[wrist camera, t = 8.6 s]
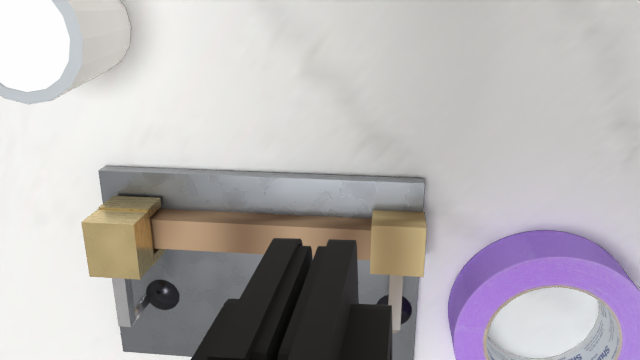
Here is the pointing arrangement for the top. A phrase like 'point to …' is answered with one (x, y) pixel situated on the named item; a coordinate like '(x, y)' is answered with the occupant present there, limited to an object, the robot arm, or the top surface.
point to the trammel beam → (304, 238)
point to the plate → (237, 268)
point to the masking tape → (536, 273)
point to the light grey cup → (58, 45)
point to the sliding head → (122, 249)
